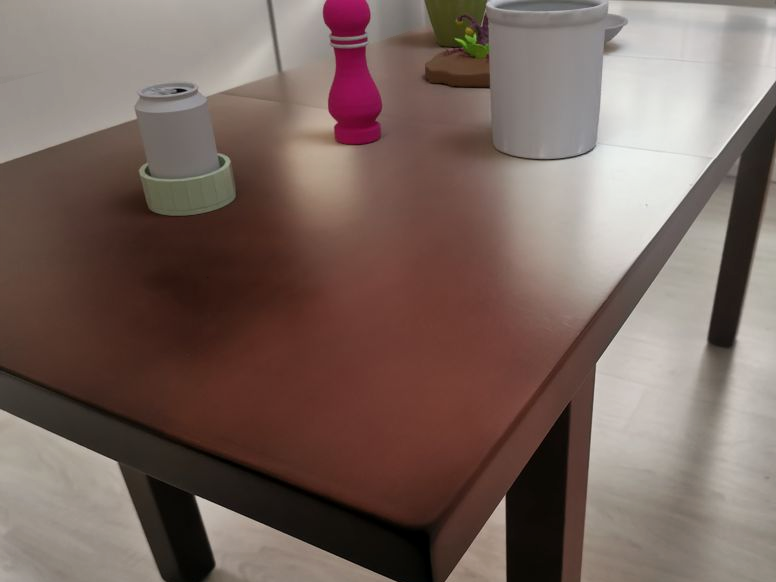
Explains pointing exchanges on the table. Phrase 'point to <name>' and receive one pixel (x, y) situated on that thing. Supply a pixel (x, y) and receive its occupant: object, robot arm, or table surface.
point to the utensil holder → (545, 75)
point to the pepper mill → (352, 73)
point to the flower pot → (453, 19)
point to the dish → (613, 26)
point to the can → (176, 130)
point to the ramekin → (190, 191)
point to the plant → (464, 59)
